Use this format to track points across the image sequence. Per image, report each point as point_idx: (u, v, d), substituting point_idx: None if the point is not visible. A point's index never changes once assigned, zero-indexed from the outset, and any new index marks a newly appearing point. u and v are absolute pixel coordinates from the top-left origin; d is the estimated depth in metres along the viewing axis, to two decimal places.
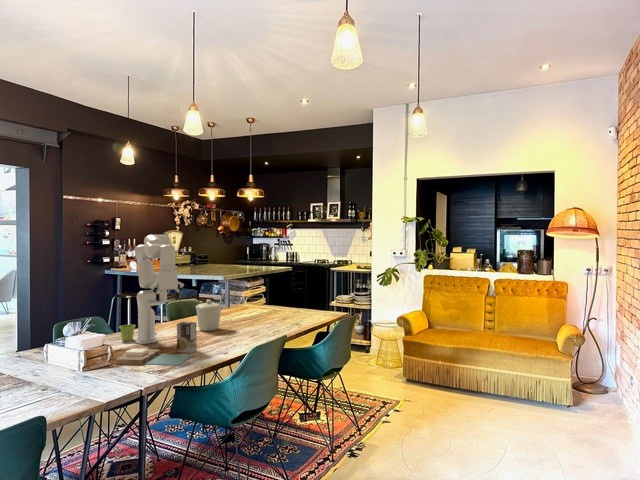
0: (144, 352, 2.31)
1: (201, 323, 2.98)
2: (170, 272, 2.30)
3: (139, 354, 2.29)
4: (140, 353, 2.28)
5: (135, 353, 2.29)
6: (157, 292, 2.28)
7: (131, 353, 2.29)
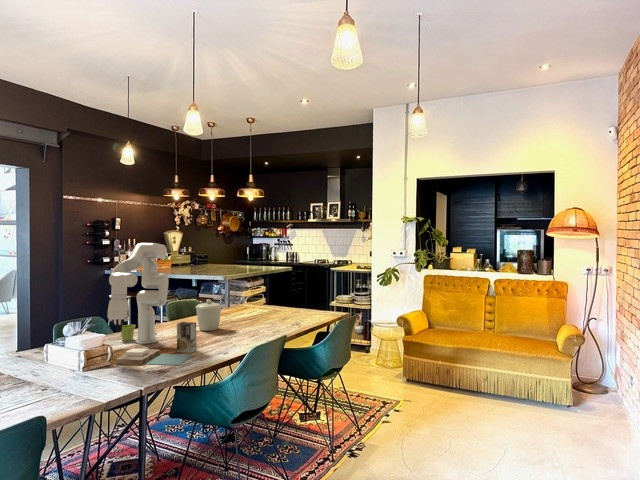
0: (144, 352, 2.31)
1: (201, 323, 2.98)
2: None
3: (139, 354, 2.29)
4: (140, 353, 2.28)
5: (135, 353, 2.29)
6: None
7: (131, 353, 2.29)
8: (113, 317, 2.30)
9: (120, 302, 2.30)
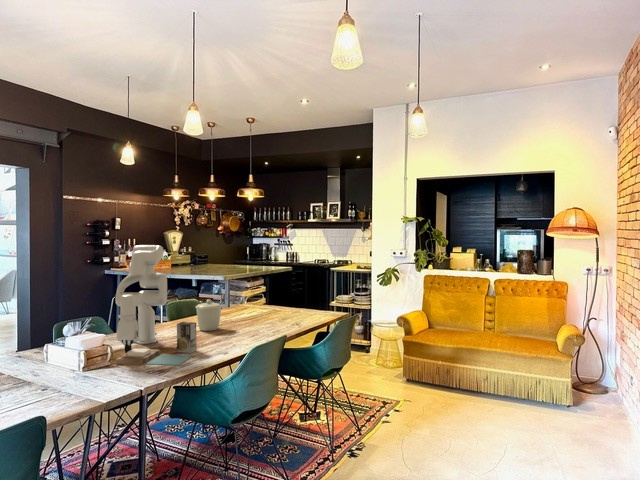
0: (146, 352, 2.31)
1: (201, 323, 2.98)
2: None
3: (141, 354, 2.28)
4: (142, 353, 2.28)
5: (137, 353, 2.29)
6: None
7: (133, 353, 2.29)
8: (122, 338, 2.30)
9: (129, 322, 2.30)
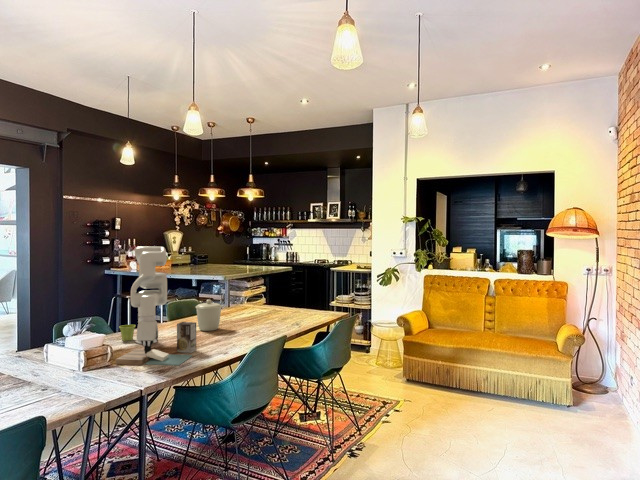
0: (165, 357, 2.30)
1: (201, 323, 2.98)
2: None
3: (160, 358, 2.27)
4: (161, 358, 2.27)
5: (156, 356, 2.27)
6: None
7: (152, 355, 2.27)
8: (142, 339, 2.29)
9: (149, 323, 2.29)
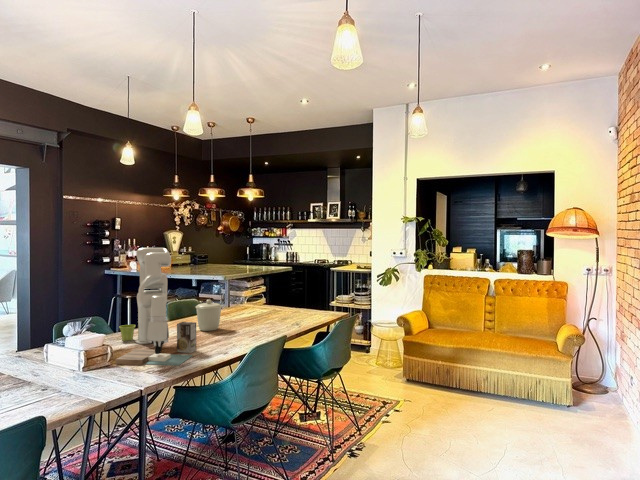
0: (167, 357, 2.30)
1: (201, 323, 2.98)
2: None
3: (162, 359, 2.27)
4: (163, 358, 2.27)
5: (158, 358, 2.27)
6: None
7: (154, 358, 2.27)
8: (153, 339, 2.28)
9: (160, 323, 2.28)
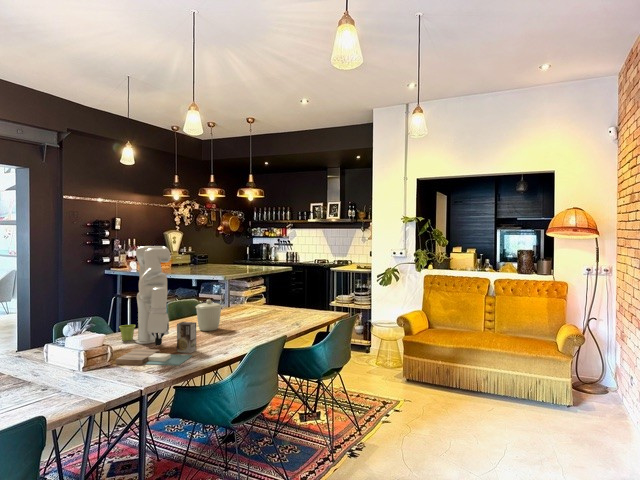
0: (167, 357, 2.30)
1: (201, 323, 2.98)
2: None
3: (162, 359, 2.27)
4: (163, 358, 2.27)
5: (158, 358, 2.27)
6: None
7: (154, 358, 2.27)
8: (153, 331, 2.29)
9: (160, 315, 2.28)
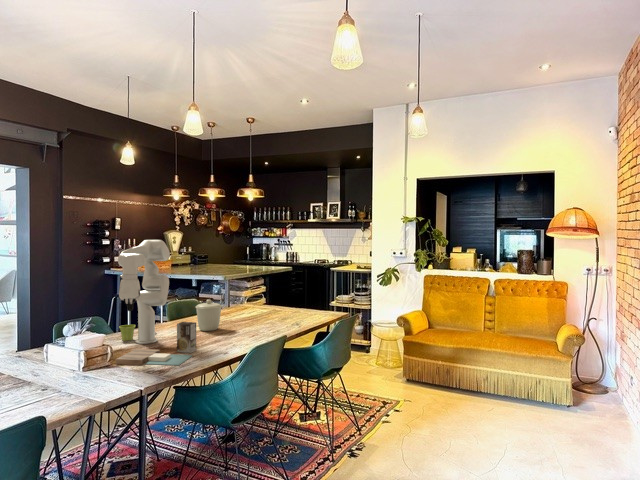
0: (167, 357, 2.30)
1: (201, 323, 2.98)
2: None
3: (162, 359, 2.27)
4: (163, 358, 2.27)
5: (158, 358, 2.27)
6: (133, 301, 2.40)
7: (154, 358, 2.27)
8: (124, 297, 2.36)
9: (131, 281, 2.36)
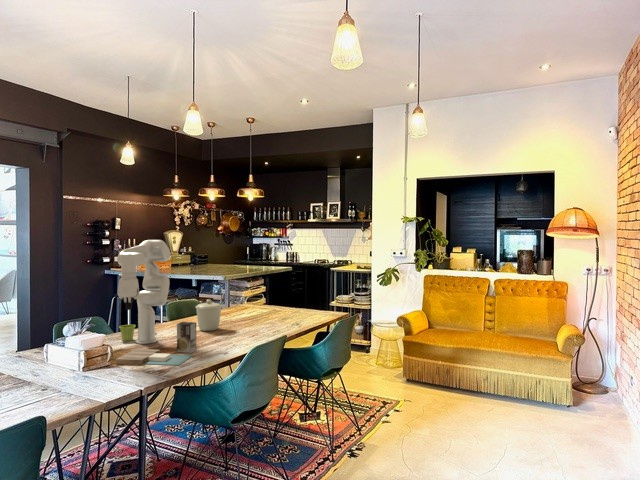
0: (167, 357, 2.30)
1: (201, 323, 2.98)
2: None
3: (162, 359, 2.27)
4: (163, 358, 2.27)
5: (158, 358, 2.27)
6: None
7: (154, 358, 2.27)
8: (123, 295, 2.36)
9: (130, 280, 2.36)
